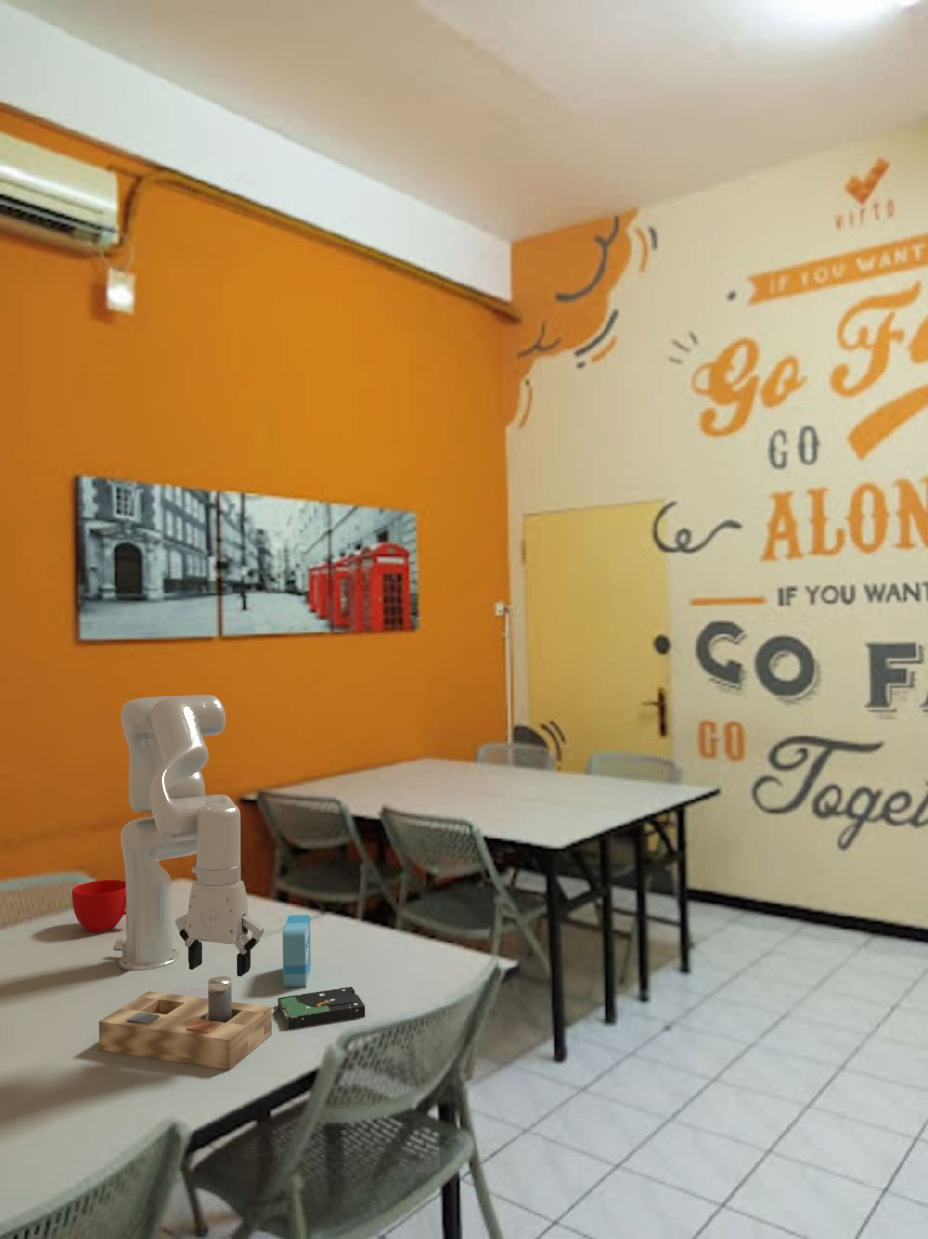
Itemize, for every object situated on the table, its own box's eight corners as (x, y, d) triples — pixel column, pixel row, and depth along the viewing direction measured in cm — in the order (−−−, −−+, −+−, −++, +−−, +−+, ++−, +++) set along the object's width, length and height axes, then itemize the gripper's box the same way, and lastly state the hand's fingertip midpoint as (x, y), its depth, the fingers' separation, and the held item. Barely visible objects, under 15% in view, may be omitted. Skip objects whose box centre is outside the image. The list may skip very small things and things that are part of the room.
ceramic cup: (134, 936, 226) (133, 894, 226) (63, 937, 227) (62, 895, 227) (152, 919, 239) (152, 879, 239) (85, 919, 240) (84, 879, 240)
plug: (204, 1040, 168) (203, 983, 168) (216, 1030, 172) (215, 975, 172) (224, 1043, 167) (223, 986, 167) (236, 1033, 171) (235, 977, 171)
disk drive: (351, 1000, 189) (276, 1011, 184) (351, 985, 189) (276, 996, 184) (366, 1020, 180) (287, 1032, 174) (366, 1005, 180) (287, 1017, 174)
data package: (305, 990, 193) (305, 930, 193) (283, 991, 192) (282, 931, 192) (310, 968, 205) (310, 912, 205) (289, 969, 204) (288, 913, 204)
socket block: (99, 1049, 167) (98, 1019, 167) (149, 1017, 180) (148, 989, 180) (229, 1070, 159) (229, 1038, 159) (271, 1034, 172) (271, 1005, 172)
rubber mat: (148, 1007, 185) (148, 1004, 185) (179, 988, 194) (179, 985, 194) (193, 1013, 182) (193, 1010, 182) (222, 993, 191) (222, 990, 191)
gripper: (164, 876, 168) (164, 972, 169) (251, 885, 163) (251, 984, 163) (188, 864, 175) (189, 957, 176) (272, 873, 170) (273, 968, 171)
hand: (219, 970), depth 170 cm, fingers open, 9 cm apart
